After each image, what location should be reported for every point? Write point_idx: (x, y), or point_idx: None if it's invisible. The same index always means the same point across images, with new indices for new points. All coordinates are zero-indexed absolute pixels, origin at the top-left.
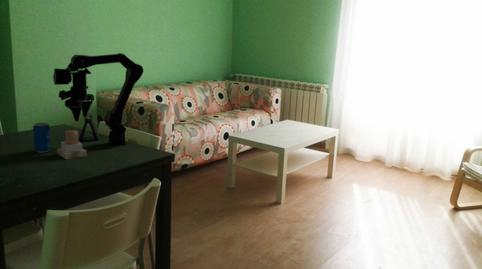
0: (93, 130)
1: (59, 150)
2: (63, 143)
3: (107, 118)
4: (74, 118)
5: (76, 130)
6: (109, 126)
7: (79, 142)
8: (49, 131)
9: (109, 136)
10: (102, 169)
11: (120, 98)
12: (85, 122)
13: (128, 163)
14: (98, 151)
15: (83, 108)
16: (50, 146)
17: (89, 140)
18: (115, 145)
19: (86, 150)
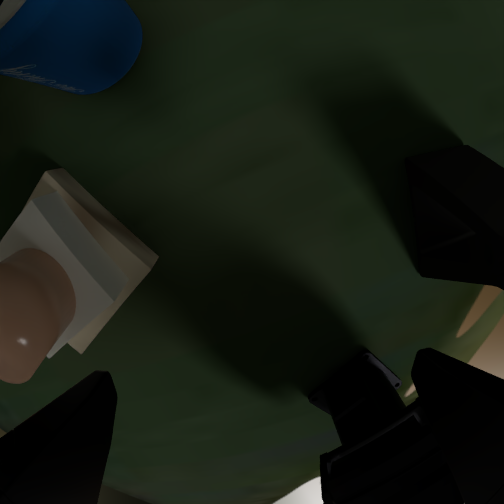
0: (456, 274)
1: (28, 201)
2: (6, 243)
3: (377, 497)
4: (68, 393)
5: (32, 365)
6: (332, 471)
7: (68, 333)
8: (25, 67)
9: (351, 398)
10: (7, 415)
11: None
12: (497, 240)
13: None
14: (188, 363)
15: (497, 433)
16: (93, 87)
17: (415, 225)
18: (310, 401)
19: (83, 351)
